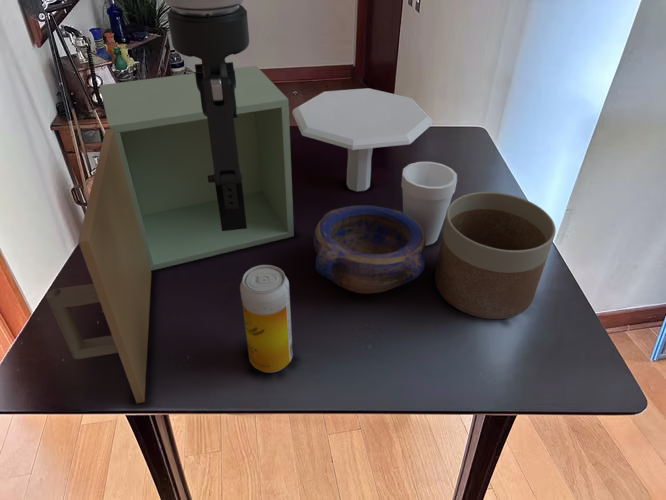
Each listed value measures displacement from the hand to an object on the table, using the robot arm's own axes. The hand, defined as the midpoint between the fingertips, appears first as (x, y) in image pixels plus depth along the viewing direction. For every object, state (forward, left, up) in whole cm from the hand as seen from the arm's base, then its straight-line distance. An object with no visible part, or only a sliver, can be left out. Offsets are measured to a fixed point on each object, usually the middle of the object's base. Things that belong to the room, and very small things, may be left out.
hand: (230, 196), depth 62 cm
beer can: (+3, -6, -24) cm, 25 cm away
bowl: (+21, +9, -24) cm, 33 cm away
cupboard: (-4, +28, -24) cm, 37 cm away
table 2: (+27, +38, -24) cm, 53 cm away
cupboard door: (-18, +3, -24) cm, 30 cm away
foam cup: (+34, +18, -24) cm, 45 cm away
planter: (+39, +2, -24) cm, 46 cm away
